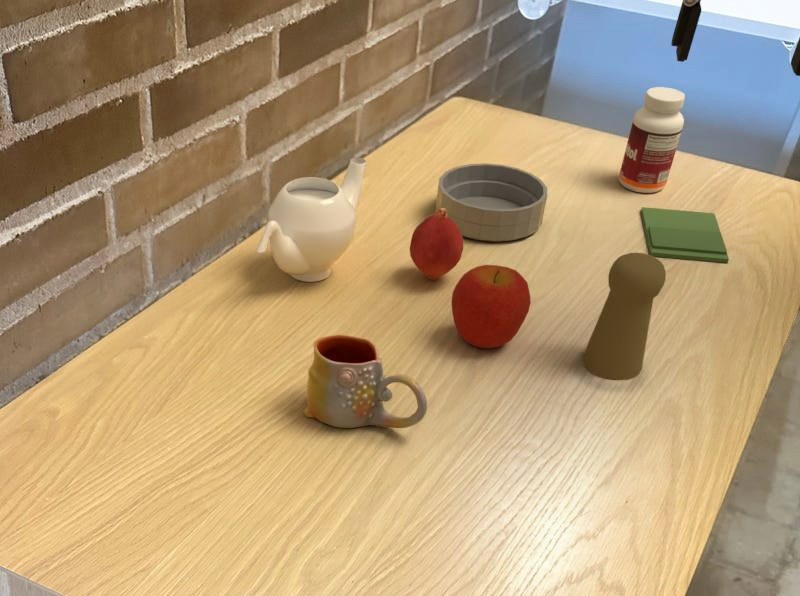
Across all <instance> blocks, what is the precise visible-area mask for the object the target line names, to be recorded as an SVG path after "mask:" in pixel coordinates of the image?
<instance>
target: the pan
mask: <svg viewBox="0 0 800 596" xmlns="http://www.w3.org/2000/svg"><path fill="white" fill-rule="evenodd" d="M547 198H548V187H547V186H546V184H545V182H543V180H542V179H541V178H539V177H537V176H536V175H535V174H532V172H528V171H526V170H523V169H522V168H518V167H514V166H511V165H505V164H498V163H485V162H484V163H483V162H481V163H467V164H463V165H459V166H455V167H452V168H451V169H448V170H446V171H444V173H443V174H441V176H439V178H438V185H437V193H436V203H435V212H437V211H439V209H440V208H445V209H446V213H447V216H448V217H449V218H450V219H452V220H453V221H454V222H455V223H456V224H457V226H458V228H459V230H460V232H461V234H462V237H465V238H467V239H472V240H476V241H480V242H481V241H482V242H491V243H493V242H495V243H496V242H497V243H498V242H511V241H515V240H520V239H522V238H527V237H528V236H530V235H533V234H534V233H536V232H537V231H538V230H539V228H540V227H541V225H542V224H543V218H544V213H545V209H546V204H547V201H548V199H547ZM435 212H434V213H435Z"/></svg>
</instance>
